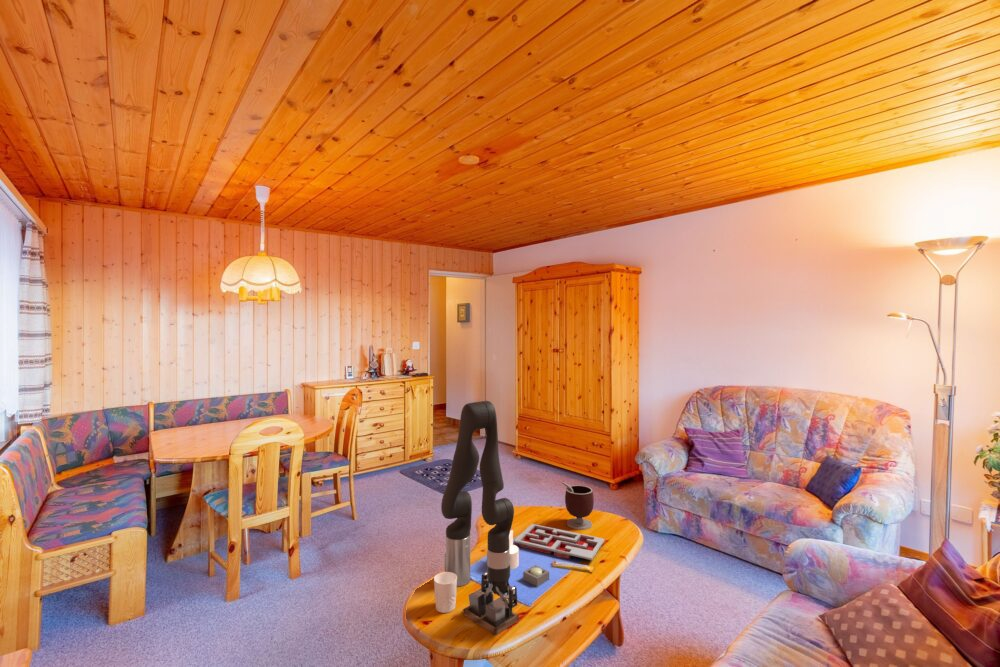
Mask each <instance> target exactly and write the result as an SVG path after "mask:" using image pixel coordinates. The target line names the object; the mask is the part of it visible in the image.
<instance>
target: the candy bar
mask: <svg viewBox="0 0 1000 667" xmlns="http://www.w3.org/2000/svg"><path fill="white" fill-rule="evenodd" d="M552 568H558V569H565V570H569V571H570V570H571V571H576V572H577V571H578V572H584V573H585V572H586V573H593V572H594V569H595V566H591V565H587V564H580V563H573V562H566V561H556V560H554V561H552Z"/></svg>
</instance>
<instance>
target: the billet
mask: <svg viewBox="0 0 1000 667" xmlns="http://www.w3.org/2000/svg"><path fill="white" fill-rule="evenodd" d="M507 602H508V603H509V601H508V599H507ZM509 619H510V618H509ZM509 619H508V620H509ZM506 621H507V619H505V604H504V602H503V601H502V600H501V598H500V596H498V598H495V599H494V601H492V602H491V603H489V604H487V605H486V622H487V623H489V624H490V625H492V626H493V627H495V628H496V627H498V626H500V625H501V624H503V623H504V622H506Z"/></svg>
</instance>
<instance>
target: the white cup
mask: <svg viewBox="0 0 1000 667" xmlns="http://www.w3.org/2000/svg"><path fill="white" fill-rule="evenodd" d="M433 588H434V601H435V609H436V611H437V612H439V613H443V614H446V613H450V612H452V611H454V610H455V608H456V604H457V603H456V601H457V589H458V586H457V576H456V574H454V573H451V572H445V571H443V572H439V573H437V574H436V575H434V577H433Z"/></svg>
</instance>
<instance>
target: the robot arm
mask: <svg viewBox="0 0 1000 667" xmlns="http://www.w3.org/2000/svg"><path fill="white" fill-rule="evenodd" d="M460 413H461V414H460V418H459V427H458V428H459V429H458V436H457V442H456V445H455V451H454V453H453V458H452V463H451V467H450V473H449V475H448V481H447V483H446V487H445V490H444V493H443V495H442V499H441V504H440V505H441V506H440V507H441V514H442V516H443V517H444V518H445V519H446V520H453V519H455V520H453V521H452V522H451V523H449V524H448V525H447V526H446V528H445V553H444V572H451V573H454V574H456V576H457V587H463V586H466V585H467V584H469V583H470V582H471V529H472V514H473V513H472V511H473V510H472V508H473V504H472V503H473V502H472V497H471V494H470V492H468V491H467V490H463V489H464V488H465V487H466V486H467V485H468V484H469V483H470V482H471V481H472V480H473V478H474V477H475V475H476V473H477V470H478V468H479V474H480V480H481V484H482V485H481V486H482V498H481V516H482V518H483V521H484V523H486V524H487V525H489V526H493V527H492V528H490V530H488V533H487V549H486V550H487V551H486V572H485V573H482V574H481V578H480V579H481V586H480V588H481V591H482V592H484V593H485V596H486V605H487V604H489V603H491V602H492V601H493V596H494V595H497V596H498V597H500V598H501V600H502V601H503V602H504V604H505V619H507V620H508V619H509V618H511V617H512V612H513V608H515V607H517V606H518V591H517V590H518V589H517V586H516V585H514V586H511V585H510V582H509V580H510V578H511V569H510V552H509V534H510V530H512V527H513V526H512V525H513V522H514V517H515V516H514V515H515V508H514V504H513V502H512V501H511V499H509V498H507V497H502V498H498V499H496V498H497V494H498V493H499V492H501V491H502V490H503V489H504V486H505V485H504V484H505V483H504V480H503V474H502V469H501V463H500V454H499V438H498V437H499V436H498V435H499V434H498V432H499V431H498V420H497V419H498V417H497V412H496V408H495V406H494V404H493V403H492V402H491V401H490V400H483V401H475V402H469V403H465V404H464V405H463V407H462V409H461V412H460ZM477 430H485V431H484V432H485V444H484V447H483V451H482V454H481V458H480V454H479V451H478V448H477V447H476V445H475V443H474V442H473V435H474V432H475V431H477ZM478 466H479V467H478ZM492 593H493V595H492ZM507 600H508V601H509V603H508V602H507Z"/></svg>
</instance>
